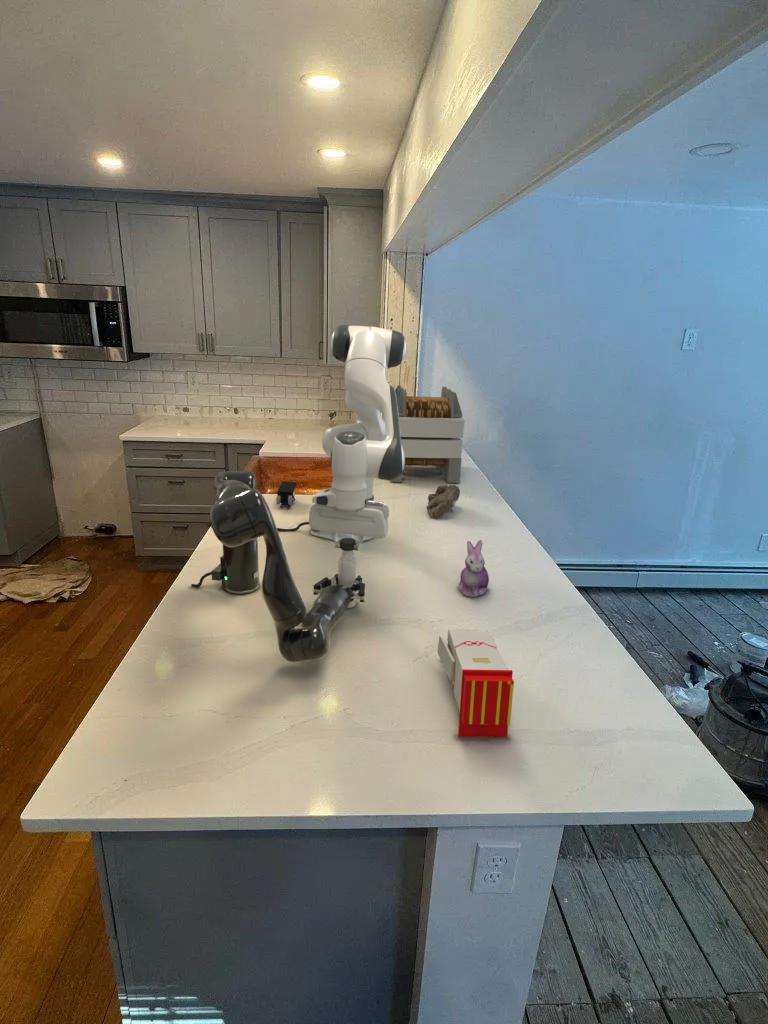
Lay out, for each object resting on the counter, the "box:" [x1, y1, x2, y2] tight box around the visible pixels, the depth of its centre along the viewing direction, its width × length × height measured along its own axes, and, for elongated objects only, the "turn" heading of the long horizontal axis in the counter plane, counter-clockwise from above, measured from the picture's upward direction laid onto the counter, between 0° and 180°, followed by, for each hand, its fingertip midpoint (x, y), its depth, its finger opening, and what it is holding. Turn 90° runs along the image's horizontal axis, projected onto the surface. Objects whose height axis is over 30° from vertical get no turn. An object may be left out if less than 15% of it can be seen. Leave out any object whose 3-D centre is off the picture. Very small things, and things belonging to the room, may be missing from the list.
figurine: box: [459, 539, 490, 598], centre depth 159 cm, size 9×10×15 cm
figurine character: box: [275, 480, 298, 509], centre depth 223 cm, size 7×8×15 cm
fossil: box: [426, 484, 461, 519], centre depth 223 cm, size 22×10×15 cm
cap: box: [339, 538, 356, 552], centre depth 146 cm, size 4×4×2 cm
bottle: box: [337, 550, 358, 609], centre depth 149 cm, size 5×5×18 cm
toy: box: [437, 628, 515, 738], centre depth 117 cm, size 12×13×30 cm
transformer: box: [390, 384, 465, 484], centre depth 268 cm, size 34×33×41 cm
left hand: (349, 577), depth 152 cm, fingers closed on bottle, 4 cm apart
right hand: (347, 548), depth 146 cm, fingers closed on cap, 4 cm apart
